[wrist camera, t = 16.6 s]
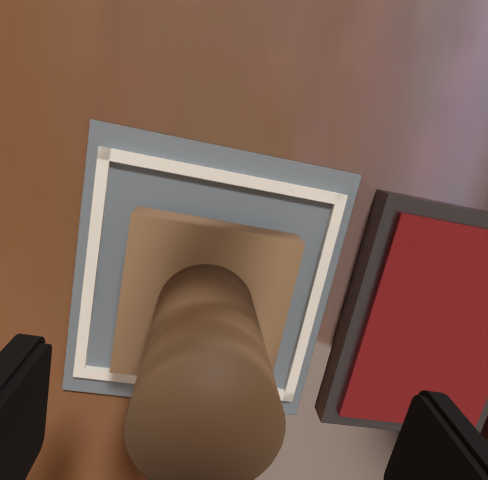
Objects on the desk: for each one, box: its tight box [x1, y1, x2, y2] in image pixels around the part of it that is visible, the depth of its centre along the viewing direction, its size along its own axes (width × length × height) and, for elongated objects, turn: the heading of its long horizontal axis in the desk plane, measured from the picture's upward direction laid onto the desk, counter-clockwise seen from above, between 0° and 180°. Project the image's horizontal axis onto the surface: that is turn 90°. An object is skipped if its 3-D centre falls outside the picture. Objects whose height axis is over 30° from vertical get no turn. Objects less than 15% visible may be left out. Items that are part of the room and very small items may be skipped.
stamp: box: [109, 206, 305, 480], centre depth 14 cm, size 7×7×9 cm
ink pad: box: [315, 189, 488, 433], centre depth 20 cm, size 9×12×2 cm
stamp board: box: [62, 119, 362, 415], centre depth 19 cm, size 12×13×1 cm
